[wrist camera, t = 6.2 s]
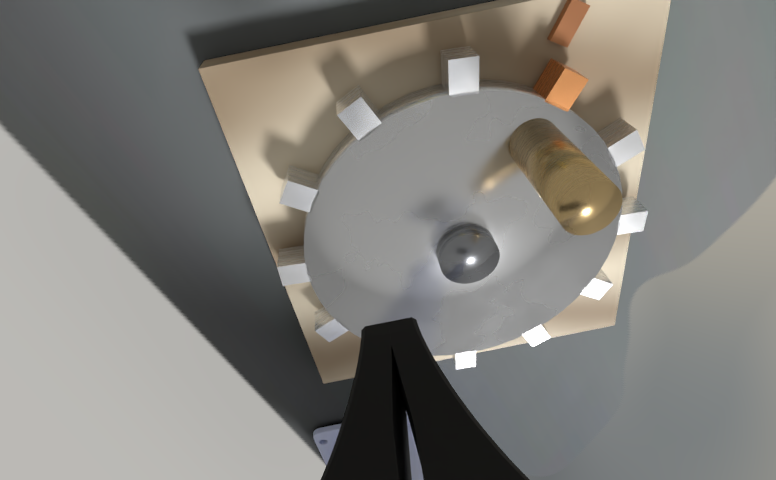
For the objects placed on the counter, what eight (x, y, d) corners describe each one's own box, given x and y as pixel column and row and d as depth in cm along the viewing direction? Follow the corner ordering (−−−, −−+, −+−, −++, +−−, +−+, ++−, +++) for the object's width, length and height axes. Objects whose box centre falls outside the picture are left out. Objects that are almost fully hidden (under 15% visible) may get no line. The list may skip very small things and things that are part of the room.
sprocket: (509, 374, 27) (548, 474, 22) (235, 314, 22) (212, 427, 17) (711, 137, 19) (834, 213, 15) (361, -36, 14) (381, -4, 10)
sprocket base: (605, 312, 27) (617, 329, 26) (323, 369, 27) (323, 388, 26) (658, -33, 16) (681, -28, 15) (204, 60, 17) (196, 71, 16)
